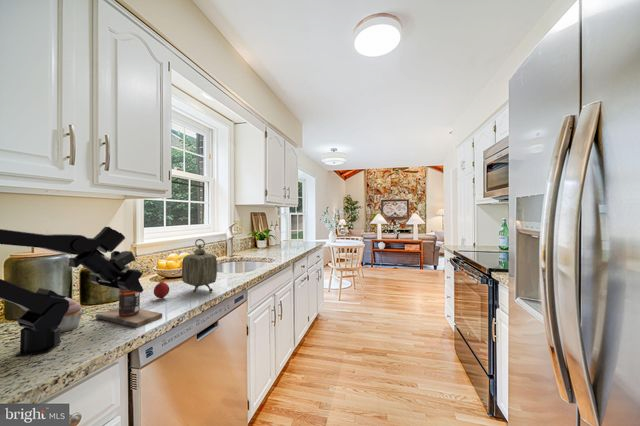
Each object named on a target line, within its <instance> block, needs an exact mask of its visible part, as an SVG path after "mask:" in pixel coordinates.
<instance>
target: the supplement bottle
mask: <svg viewBox="0 0 640 426" xmlns="http://www.w3.org/2000/svg"><path fill="white" fill-rule="evenodd" d="M140 302H141V293H140V292H136V291H131V290H126V289H122V288H121V289H119V294H118V308H119V315H120V316H131V315H134V314H137V313H138V312H139V309H141V308H140V307H141V306H140V304H141V303H140Z"/></svg>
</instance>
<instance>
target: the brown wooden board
mask: <svg viewBox="0 0 640 426" xmlns="http://www.w3.org/2000/svg"><path fill="white" fill-rule="evenodd" d="M94 317H95V318H96V319H99V320H104V321H108V322H112V323H115V324H121V325H124V326H129V327H133V328H139V327H142V326H143V325H144V326H145V325H147V324H149V323H151V322H154V321H157V320H160V319H162V318H163V313H161V312H157V311H152V310H146V309H143V308H142V309H141V308H140V309H139V312H138V313H137V314H134V315H131V316H120V315H119V307H116V308H113V309H110V310H107V311H106V310H105V311H103V312H100V313H96V314H95V315H94Z"/></svg>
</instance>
